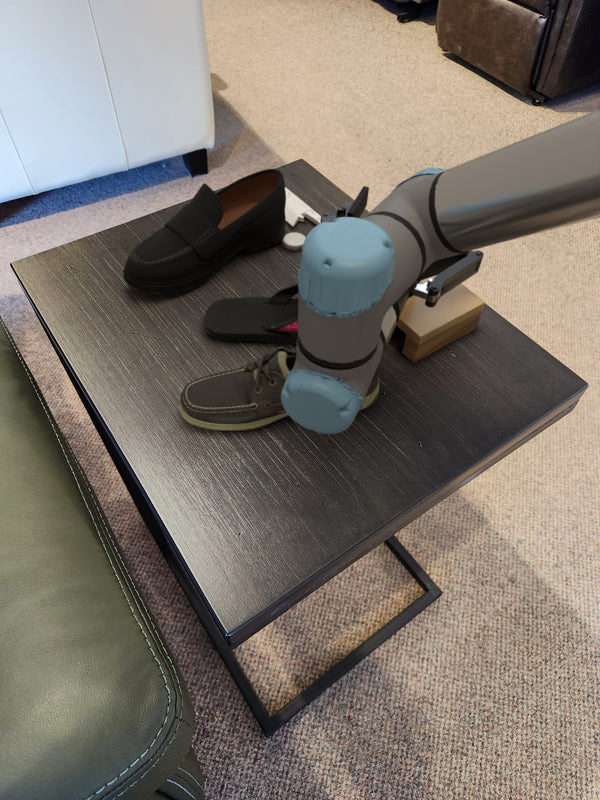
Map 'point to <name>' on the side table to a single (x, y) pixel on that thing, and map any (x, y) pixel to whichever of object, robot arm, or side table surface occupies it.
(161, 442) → the side table surface
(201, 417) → the boat shoe
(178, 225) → the loafer
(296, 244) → the white ridged disc
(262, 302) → the sandal
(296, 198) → the white plastic blade
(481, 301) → the oak shelf
